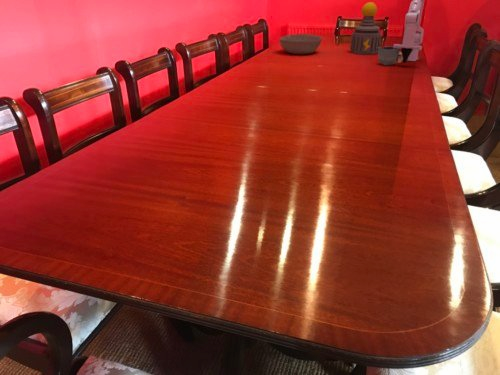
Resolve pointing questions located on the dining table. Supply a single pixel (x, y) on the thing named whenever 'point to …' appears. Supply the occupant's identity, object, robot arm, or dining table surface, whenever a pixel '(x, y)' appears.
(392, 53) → the flower pot
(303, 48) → the bowl
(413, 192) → the dining table surface
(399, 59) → the letter cube
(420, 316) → the dining table surface
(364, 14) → the decorative lamp
